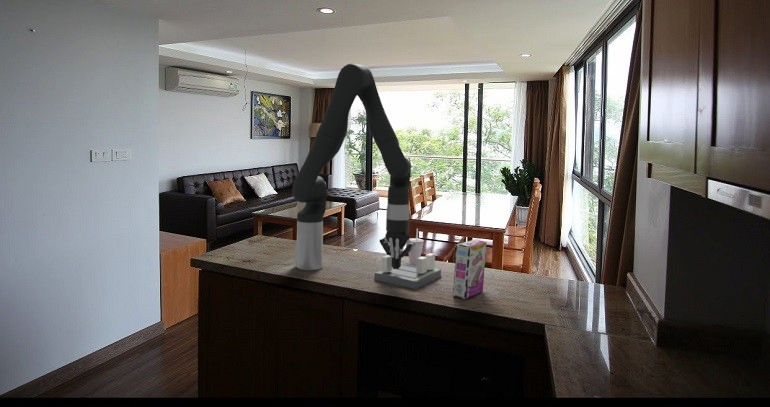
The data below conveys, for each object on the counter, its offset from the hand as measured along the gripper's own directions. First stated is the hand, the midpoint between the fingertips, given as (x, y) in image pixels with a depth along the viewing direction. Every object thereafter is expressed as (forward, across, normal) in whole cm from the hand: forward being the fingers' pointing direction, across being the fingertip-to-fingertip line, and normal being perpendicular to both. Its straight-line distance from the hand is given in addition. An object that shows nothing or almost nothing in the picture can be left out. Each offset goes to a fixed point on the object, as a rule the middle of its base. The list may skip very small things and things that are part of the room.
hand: (396, 268), depth 157 cm
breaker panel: (+4, +1, +6) cm, 8 cm away
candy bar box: (+5, +25, +3) cm, 25 cm away
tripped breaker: (+1, -4, 0) cm, 4 cm away
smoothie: (+5, -6, +23) cm, 24 cm away
